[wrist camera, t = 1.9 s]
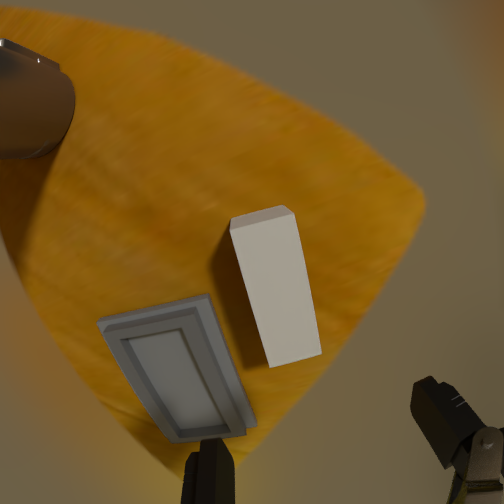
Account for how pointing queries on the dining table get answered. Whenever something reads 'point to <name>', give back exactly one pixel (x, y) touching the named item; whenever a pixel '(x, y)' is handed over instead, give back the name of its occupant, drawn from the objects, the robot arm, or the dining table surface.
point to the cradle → (181, 369)
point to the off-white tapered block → (277, 283)
